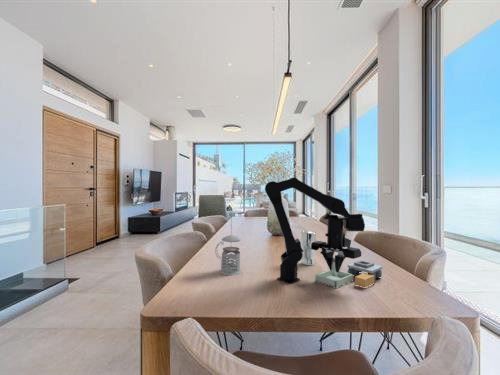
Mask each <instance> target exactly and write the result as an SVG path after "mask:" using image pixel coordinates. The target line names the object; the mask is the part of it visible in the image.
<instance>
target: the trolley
mask: <svg viewBox="0 0 500 375" xmlns="http://www.w3.org/2000/svg"><path fill="white" fill-rule="evenodd" d="M347 268H348V270H347V273H350V274H353V275H355V274H356V275H357V274H359V272H362V273H367V274H370V275H374V276H375V279H374V280H375V281H376V280H377V278H379V277H381V278H382V274H383V272H382V270H383V266H382V265H379V264H378V265H377V264H375V263H374V262H370V261H366V260H361V259H360V260H357V261H355V262H352V263H349V264H347ZM356 272H358V273H356ZM356 275H355V276H356Z"/></svg>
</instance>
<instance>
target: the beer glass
mask: <svg viewBox="0 0 500 375" xmlns="http://www.w3.org/2000/svg"><path fill="white" fill-rule="evenodd" d="M316 234H317V232H316V231H313V230H302V231H301V236H300V243H301V248H302V249H303V251H304V252H302V254H303V257H302V259H301V265H304V266H314V265H315V264H316V262H315V252H316V250H313V249H311V244H312V243H313V242H316V241H317V235H316Z"/></svg>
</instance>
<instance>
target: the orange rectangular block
mask: <svg viewBox="0 0 500 375" xmlns="http://www.w3.org/2000/svg"><path fill="white" fill-rule="evenodd" d="M374 279H375V276H374V275H370V274H368V273H367V272H362V273H361V274H358V275H355V276H354V286H355V285H359V286H362V287H367V286H369V285H371V284H373V283H374V284H375V281H374ZM375 280H376V279H375Z"/></svg>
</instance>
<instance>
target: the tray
mask: <svg viewBox="0 0 500 375" xmlns="http://www.w3.org/2000/svg"><path fill="white" fill-rule="evenodd" d="M314 276H315V281H314V282H315V283H319V284H322V283H323V284H322V285H325V284H326V285H325V286H328V285H329V286H328V287H331V286H332V288H334V287H335V288H334V289H338V288H340V287H339V286H341V285H343V284H345V285H347V284H346V283H348V282H350V281H352V280H353V281H354V276H353V274H350V273H348V272H345V271H342V270H339V272H338V276H332V275H331V271H330V269H329V270H326V271H324V272H320V273H317V274H315V275H314ZM353 281H352V282H353ZM350 283H351V282H350ZM348 284H349V283H348ZM343 286H344V285H343ZM337 287H338V288H337ZM341 287H342V286H341Z"/></svg>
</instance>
